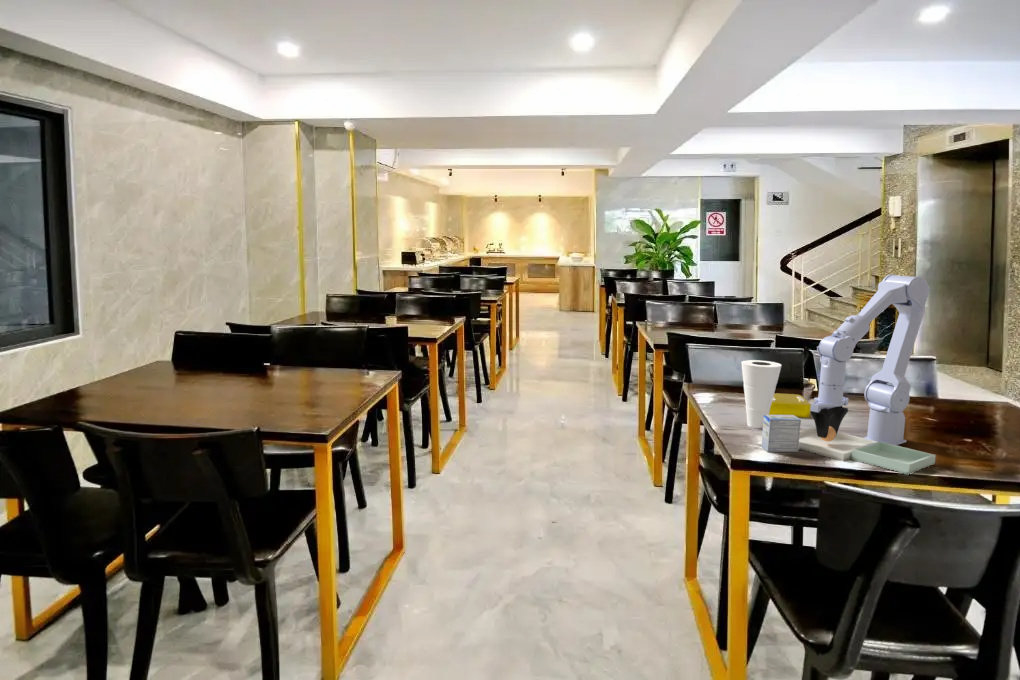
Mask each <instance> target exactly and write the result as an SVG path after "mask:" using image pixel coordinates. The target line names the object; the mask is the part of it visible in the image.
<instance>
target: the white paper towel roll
mask: <svg viewBox="0 0 1020 680" xmlns="http://www.w3.org/2000/svg"><path fill="white" fill-rule="evenodd" d="M740 363H741V374H742V382H743V392H744V400H745V401H744V403H745V412H746V413H745V414H746V424H747V426H748V428H752V429H763V419H764V415H769V412H770V406H771V404H772V400H773V396H774V393H775V391H776V387H777V384H778V380H779V377H780V373H781V369H782V364H781V363H779V362H776V361H770V360H759V359H758V360H757V359H748V360H742V361H741V362H740Z"/></svg>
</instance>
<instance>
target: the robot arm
mask: <svg viewBox="0 0 1020 680" xmlns="http://www.w3.org/2000/svg"><path fill="white" fill-rule="evenodd" d="M930 290H931V288H930V287H929V284H928V282H927V281H926V279H925V278H924V277H922V276H911V275H910V276H907V275H897V274H893V273H892V274H888V275H886V276H885V277H884V278H883V279H882V280H881V281H880V282H879V283H878V285H877V291H876V292H875V294H874V295H872V296H871V298H870V299H869V300H868V301H867V303H866V304H865V305H864V307H863V308H862V309H861V310H860V311H859V313H858V314H853V315H850V316H847V317H846V318H844V321H843V322H842V324H841V325H840V326H839V327H838V328H836V330H834V331H833V332H832V334H831V335H828V336H825V337H823V338H822V339H821V340H820V342H819V344H818V346H816V352H817V354H818V355H819V363H820V374H819V385H818V395H817V397H814V398H813V402H812V403H810V404H811V410H810V415H811V416H812V418H813V421H814V424H815V426H816V430H817V436H818V437H822V438H826V437H827V434H828V430H829V426H831V427H833V428H834V430H835V431H836V434H837V432H839V429H840V427H841V424H842V422H843V419H844V417H845V416H846V415H847V414H848V411H849V408H848V407H845V406H848V405H849V397H845V396H844V390H845V377H846V369H847V368H846V367H847V365H846V364H847V361H848V360H849V359H850V358H851V357H852V356H853V354H854V349H855V348H856V346H857V345H856V344H857V343H858V342H859V341H860V340H861V339H862V338H864V336H865V335H866V334H867V333H868V332H869V331H870V323H871V322H873V320H876V318H877V317H878V316H879V315H881V313H883V312H884V311H885V310H886V309H887V308H888V307H889V306H891V305H893V306H894V308H896V310H897V311H898V313H899V314H898V317H897V321H896V323H895V326H894V330H893V333H892V337H891V339H890V343H889V345H888V349H887V352H886V356H885V359H884V361H883V365H882V369H881V370H880V371H878V372H876V373H875V374H873V375H872V376H871V379H870V382H869V383H868V384H867V385H866V387H865V388H864V393H863V394H864V396H863V397H864V399H865V402H867V407H869V413H868V414H869V415H868V416H869V417H868V424H867V435H866V436H864V437H863V438H865V439H869V440H873V441H877V442H884V443H889V444H893V445H897V446H900V445H901V444H902V445H903V444H904V443H907V440H906V439H904V433H905V424H906V417H905V413H904V410H905V409H906V408H907V407H908V405H909V402H910V391H911V387H912V386H911V384H910V382H909V381H908V380H907V379H906V377H905V375H906V371H907V368H908V365H909V363H910V359H911V357H912V352H913V349H914V346H915V343H916V341H917V338H918V337H917V336H918V334H919V330H920V326H921V324H922V321H923V317H924V315H925V311H926V305H927V301H928V297H929V294H930V292H931V291H930Z"/></svg>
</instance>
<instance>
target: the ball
mask: <svg viewBox="0 0 1020 680" xmlns="http://www.w3.org/2000/svg"><path fill="white" fill-rule="evenodd" d="M835 436H836V431H835V430H834V428H833V427H831V426H829V430H828V434H827V437H826V438H822V437H820V438H821V439H822V440H824V441H832V440H833V439H834V438H835Z"/></svg>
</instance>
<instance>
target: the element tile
mask: <svg viewBox="0 0 1020 680" xmlns="http://www.w3.org/2000/svg"><path fill="white" fill-rule="evenodd" d="M810 410H811V403H810V402H809V401H808V400H807V399H806V398H805V397H804V396H802V395H801V394H795V393H778V392H776V393H775V392H774V396H773V400H772V404H771V406H770V412H769V415H794V416H796V417H798V418H800V417H803V419H808V418H810V417H811V412H810Z"/></svg>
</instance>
